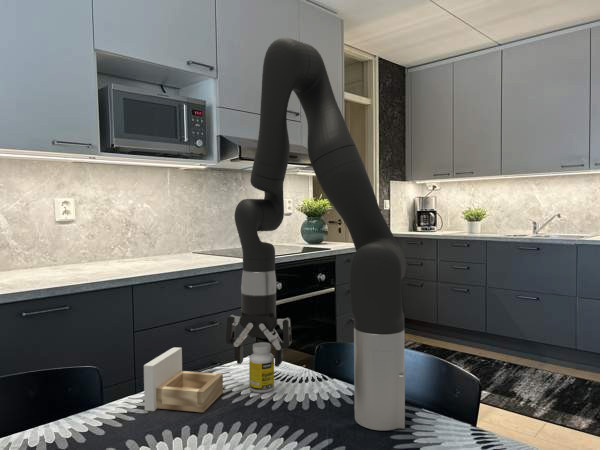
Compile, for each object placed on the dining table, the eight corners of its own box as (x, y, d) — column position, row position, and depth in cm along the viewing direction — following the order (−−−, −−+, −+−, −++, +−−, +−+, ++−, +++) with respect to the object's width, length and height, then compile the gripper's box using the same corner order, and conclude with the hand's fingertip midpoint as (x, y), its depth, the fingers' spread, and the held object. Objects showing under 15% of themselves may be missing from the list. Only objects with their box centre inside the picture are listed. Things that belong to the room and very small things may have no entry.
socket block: (223, 392, 98) (222, 373, 98) (203, 412, 89) (203, 392, 89) (180, 388, 101) (180, 370, 101) (156, 408, 91) (156, 388, 91)
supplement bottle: (262, 395, 97) (262, 349, 97) (244, 389, 100) (243, 345, 100) (279, 387, 101) (278, 343, 101) (261, 382, 105) (260, 339, 104)
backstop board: (182, 387, 102) (181, 347, 101) (153, 411, 90) (152, 366, 90) (174, 387, 102) (173, 347, 102) (144, 410, 90) (143, 365, 90)
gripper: (294, 289, 102) (293, 361, 103) (233, 286, 105) (233, 356, 105) (286, 295, 95) (286, 372, 95) (221, 292, 97) (221, 367, 98)
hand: (258, 364), depth 100 cm, fingers open, 8 cm apart
